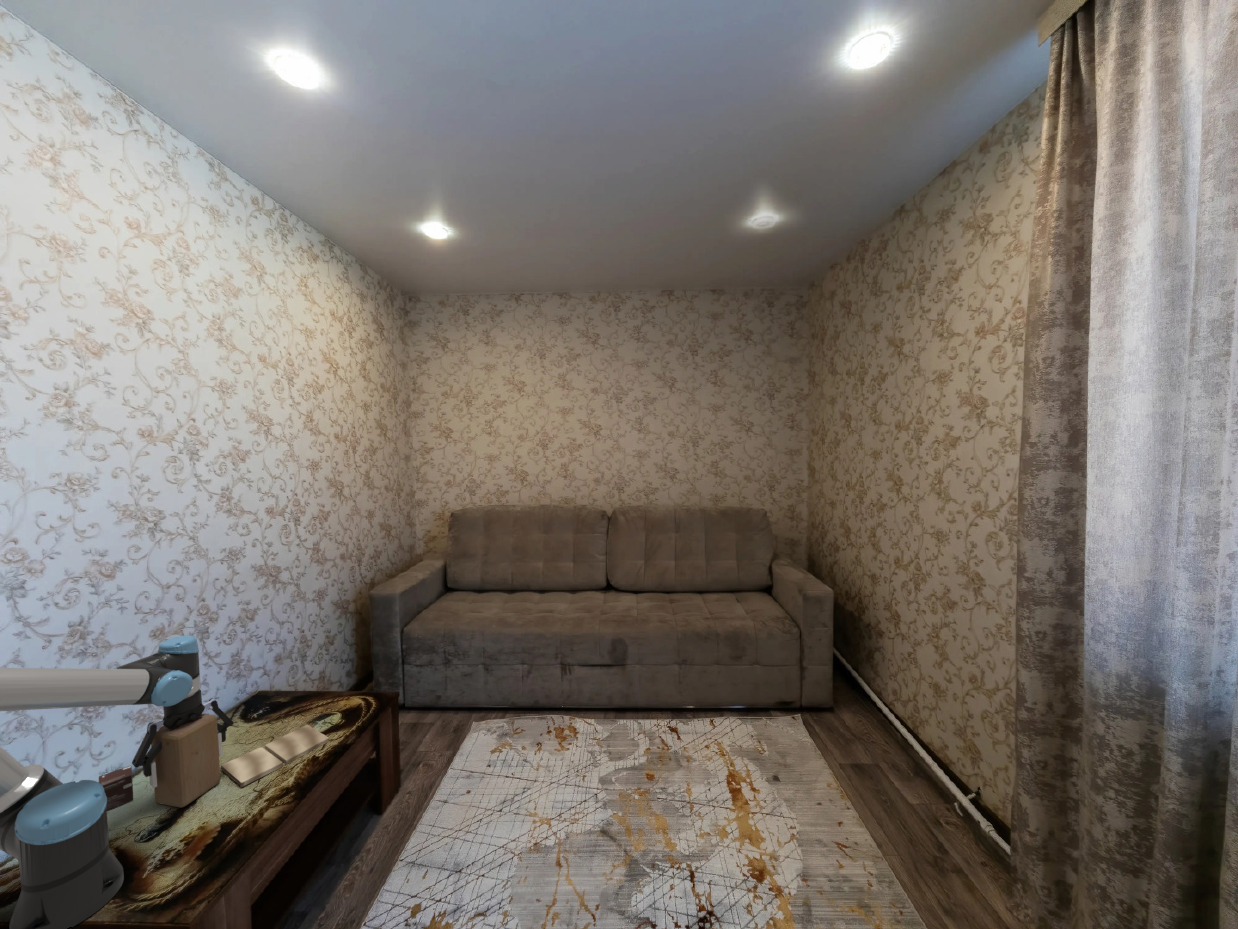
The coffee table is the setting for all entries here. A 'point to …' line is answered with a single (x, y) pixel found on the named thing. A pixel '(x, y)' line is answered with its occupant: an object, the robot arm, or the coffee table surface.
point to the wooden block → (187, 761)
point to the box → (117, 787)
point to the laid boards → (296, 744)
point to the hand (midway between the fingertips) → (187, 769)
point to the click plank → (251, 766)
